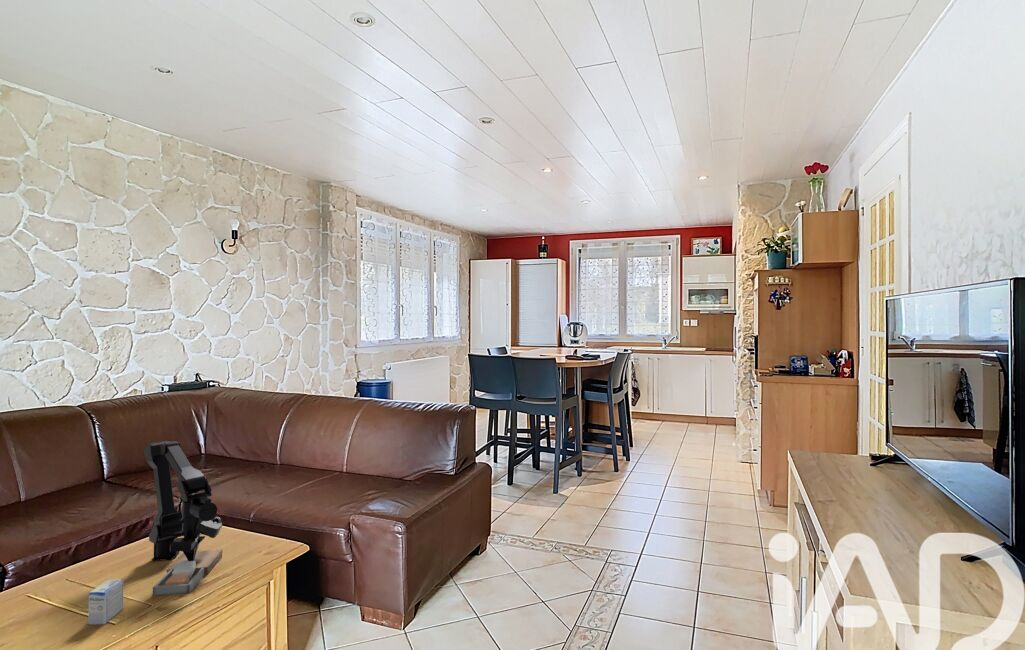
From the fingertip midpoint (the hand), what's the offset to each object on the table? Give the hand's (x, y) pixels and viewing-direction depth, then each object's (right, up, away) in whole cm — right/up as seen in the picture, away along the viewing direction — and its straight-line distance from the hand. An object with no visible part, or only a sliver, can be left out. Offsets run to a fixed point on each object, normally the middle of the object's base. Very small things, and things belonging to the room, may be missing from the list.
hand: (191, 562), depth 181 cm
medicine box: (-7, -3, -29) cm, 30 cm away
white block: (+1, -1, -6) cm, 6 cm away
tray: (+2, -3, -10) cm, 10 cm away
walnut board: (0, -3, +3) cm, 4 cm away
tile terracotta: (+2, -3, -12) cm, 12 cm away
